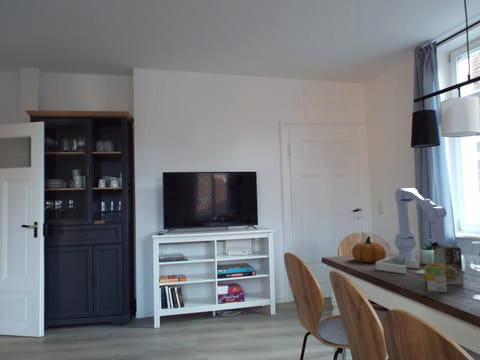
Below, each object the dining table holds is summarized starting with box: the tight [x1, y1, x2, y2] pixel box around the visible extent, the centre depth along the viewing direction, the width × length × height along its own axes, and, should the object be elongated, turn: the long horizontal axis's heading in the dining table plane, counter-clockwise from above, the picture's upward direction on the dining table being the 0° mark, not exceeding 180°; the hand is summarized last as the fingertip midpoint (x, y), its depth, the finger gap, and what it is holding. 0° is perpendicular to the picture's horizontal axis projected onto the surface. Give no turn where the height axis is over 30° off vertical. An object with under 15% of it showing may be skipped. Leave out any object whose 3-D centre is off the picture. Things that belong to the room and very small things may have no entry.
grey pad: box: [413, 269, 425, 276], centre depth 169 cm, size 9×9×1 cm
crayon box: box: [423, 262, 448, 293], centre depth 138 cm, size 7×3×12 cm, turn 78°
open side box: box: [375, 257, 420, 274], centre depth 181 cm, size 18×16×4 cm
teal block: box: [391, 256, 405, 265], centre depth 180 cm, size 4×5×6 cm
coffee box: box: [434, 245, 464, 286], centre depth 150 cm, size 9×6×16 cm
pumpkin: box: [351, 236, 387, 264], centre depth 205 cm, size 19×19×15 cm
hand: (439, 258), depth 165 cm, fingers open, 7 cm apart
